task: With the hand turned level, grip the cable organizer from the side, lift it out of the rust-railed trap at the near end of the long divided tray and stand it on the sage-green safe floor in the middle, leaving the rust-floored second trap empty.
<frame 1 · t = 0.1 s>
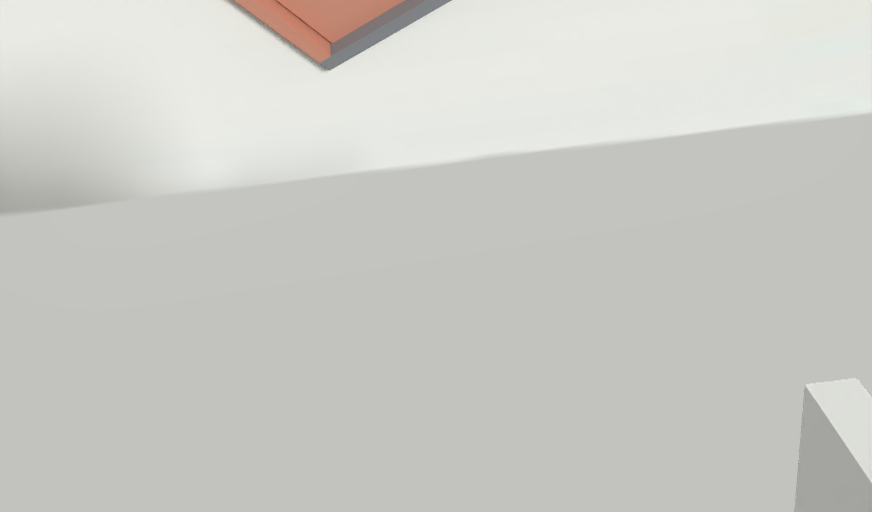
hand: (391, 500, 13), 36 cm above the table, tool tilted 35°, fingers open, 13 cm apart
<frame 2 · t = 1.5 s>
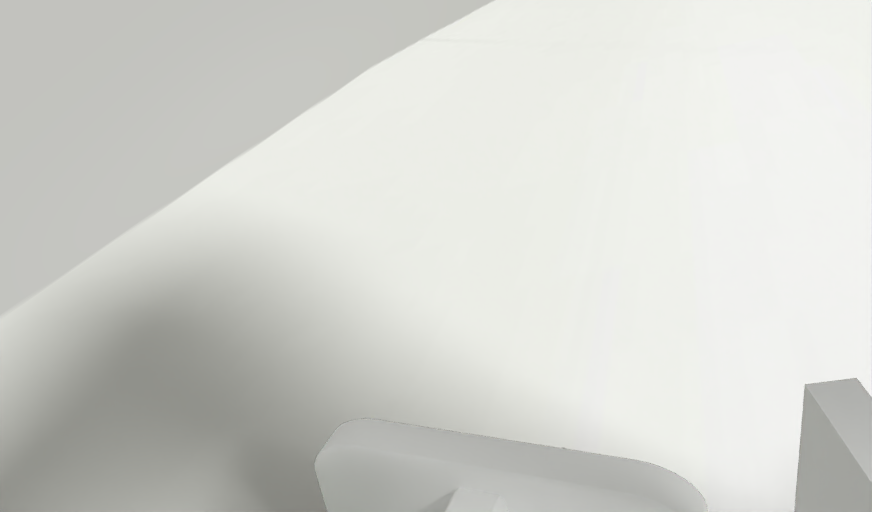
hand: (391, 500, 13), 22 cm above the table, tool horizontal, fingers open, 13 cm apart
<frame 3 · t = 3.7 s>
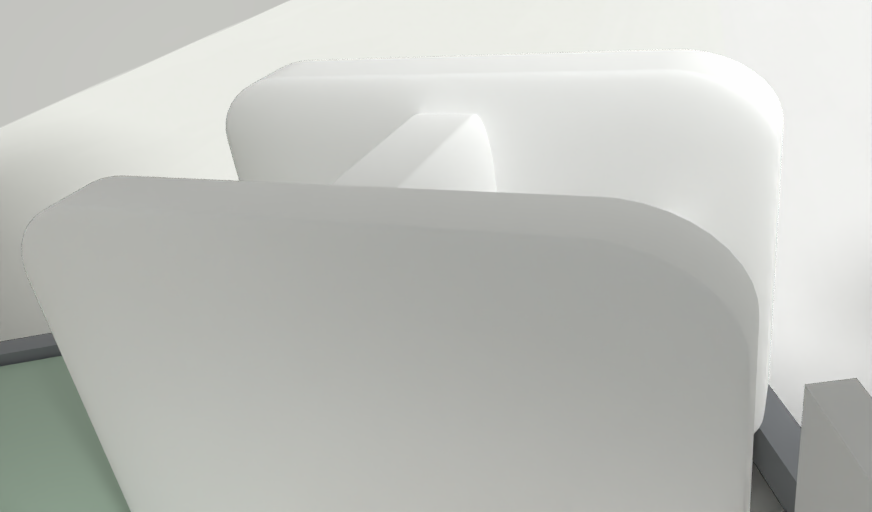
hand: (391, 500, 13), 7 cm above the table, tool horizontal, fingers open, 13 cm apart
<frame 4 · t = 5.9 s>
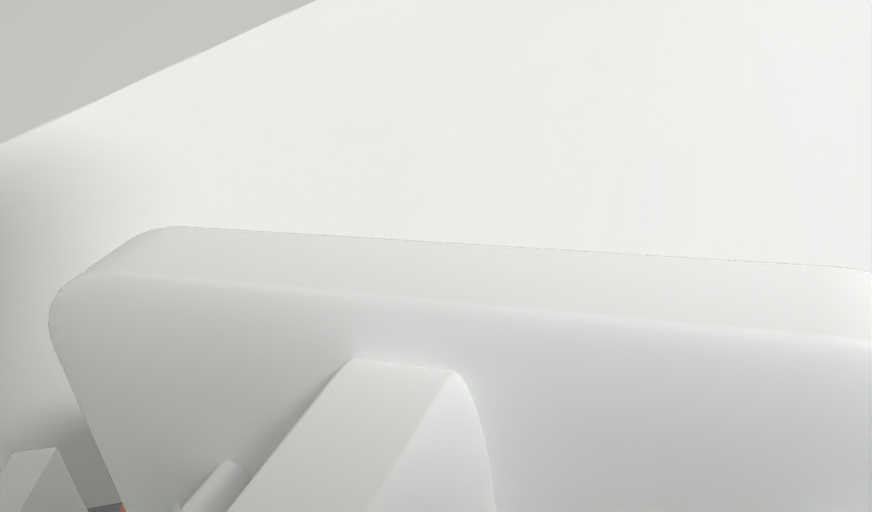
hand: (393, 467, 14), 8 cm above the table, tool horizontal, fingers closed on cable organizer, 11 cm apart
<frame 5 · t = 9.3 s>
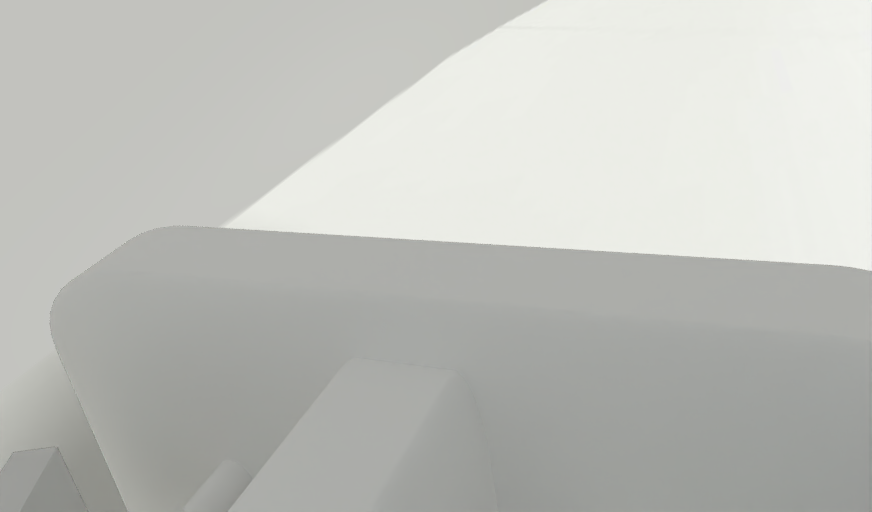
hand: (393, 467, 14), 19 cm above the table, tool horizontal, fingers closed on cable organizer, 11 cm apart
when the fingers open (9 cm above the table, at t = 12.7 s): cable organizer stays where it is, resting on divided tray.
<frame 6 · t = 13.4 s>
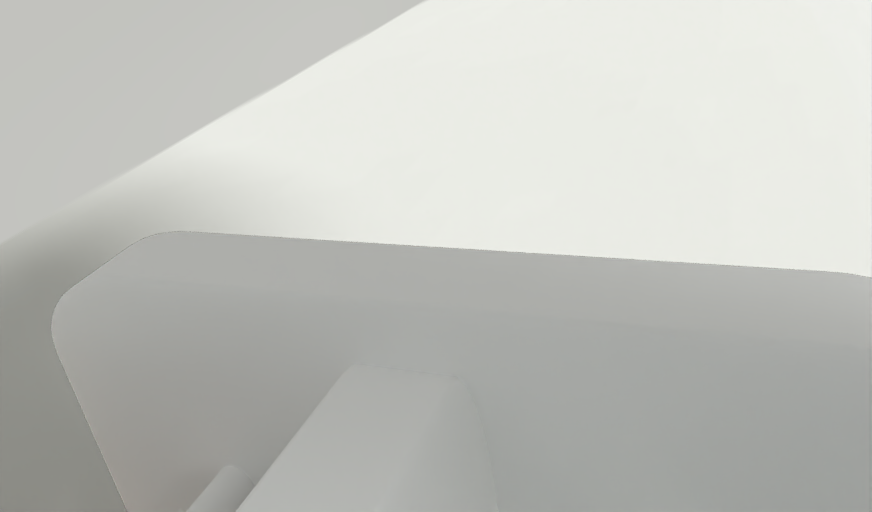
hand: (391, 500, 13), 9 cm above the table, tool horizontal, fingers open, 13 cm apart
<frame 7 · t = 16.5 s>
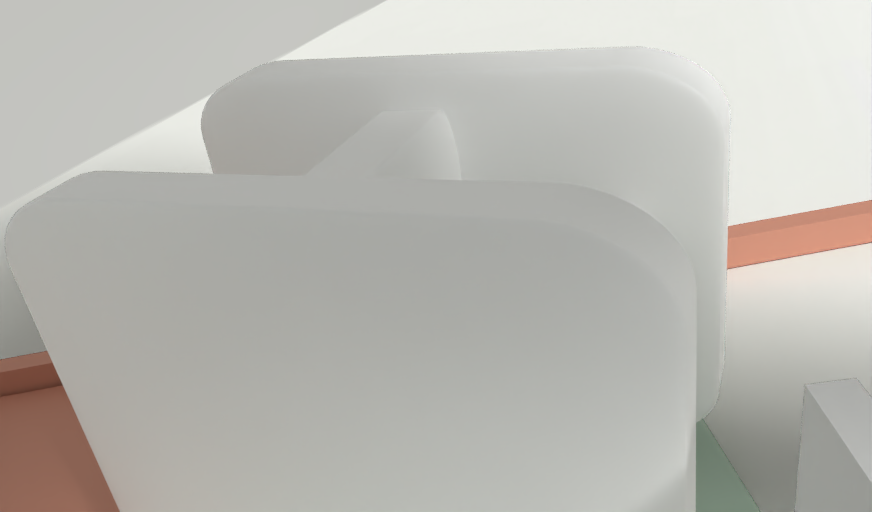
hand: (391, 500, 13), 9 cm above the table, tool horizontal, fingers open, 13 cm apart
cable organizer: (441, 495, 24), point 1 cm above the table, touching divided tray
divided tray: (517, 502, 24), on the table
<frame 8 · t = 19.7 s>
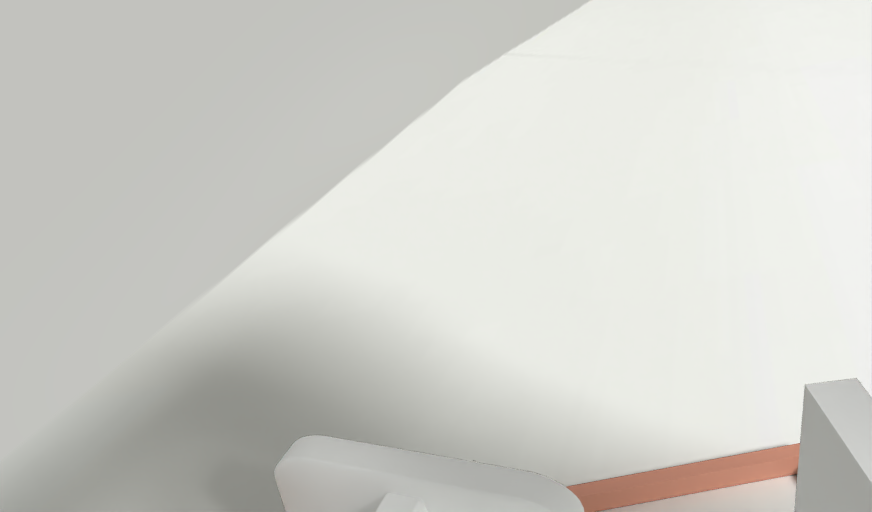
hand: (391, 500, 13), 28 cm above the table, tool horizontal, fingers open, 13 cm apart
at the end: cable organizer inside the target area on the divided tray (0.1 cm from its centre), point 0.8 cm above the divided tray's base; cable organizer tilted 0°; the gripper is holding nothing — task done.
